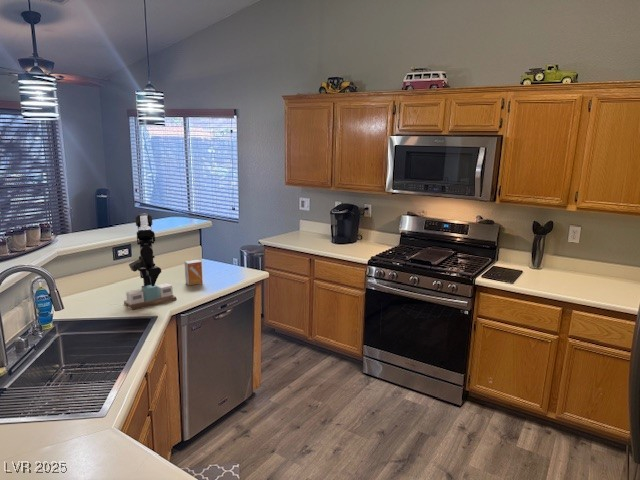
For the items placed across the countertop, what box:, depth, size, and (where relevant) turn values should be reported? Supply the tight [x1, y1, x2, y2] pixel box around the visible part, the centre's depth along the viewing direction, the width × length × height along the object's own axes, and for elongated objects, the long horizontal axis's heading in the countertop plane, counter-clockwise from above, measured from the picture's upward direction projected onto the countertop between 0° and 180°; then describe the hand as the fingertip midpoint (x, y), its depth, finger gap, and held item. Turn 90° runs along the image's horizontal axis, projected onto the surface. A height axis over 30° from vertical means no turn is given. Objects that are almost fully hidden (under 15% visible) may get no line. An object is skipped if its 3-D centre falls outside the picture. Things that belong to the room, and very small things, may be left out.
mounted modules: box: [125, 282, 174, 304], centre depth 223 cm, size 6×21×5 cm, turn 133°
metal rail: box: [125, 294, 175, 306], centre depth 224 cm, size 6×22×1 cm, turn 133°
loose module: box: [141, 284, 158, 301], centre depth 224 cm, size 5×6×6 cm
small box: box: [184, 259, 203, 286], centre depth 254 cm, size 8×6×13 cm
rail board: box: [123, 295, 178, 311], centre depth 224 cm, size 12×22×2 cm, turn 132°
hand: (149, 284), depth 223 cm, fingers open, 9 cm apart
